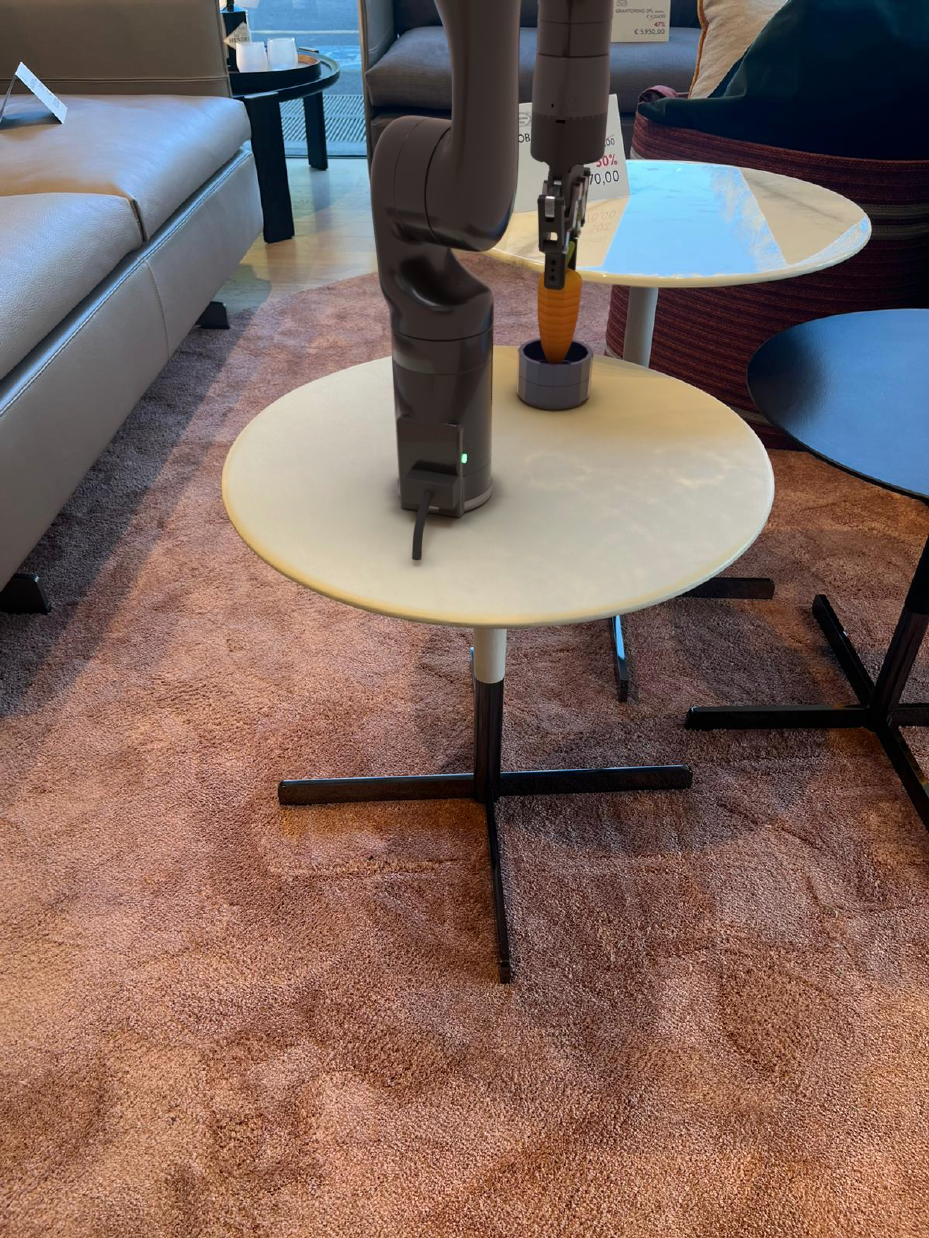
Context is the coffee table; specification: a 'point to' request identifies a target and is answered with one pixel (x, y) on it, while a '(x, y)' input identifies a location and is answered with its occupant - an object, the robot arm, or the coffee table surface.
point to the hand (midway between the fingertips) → (559, 280)
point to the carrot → (559, 313)
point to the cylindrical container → (554, 376)
